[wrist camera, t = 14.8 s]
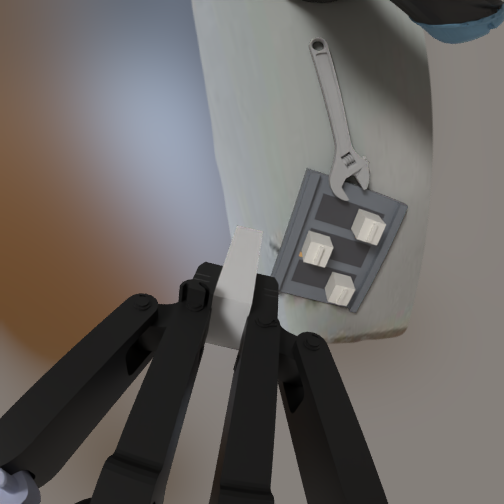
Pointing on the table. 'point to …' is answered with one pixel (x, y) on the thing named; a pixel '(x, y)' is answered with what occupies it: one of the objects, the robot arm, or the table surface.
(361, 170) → the adjustable wrench
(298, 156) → the table surface
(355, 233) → the white notched block
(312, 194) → the switch bank
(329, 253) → the white slider knob
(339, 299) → the white ridged block
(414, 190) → the table surface
